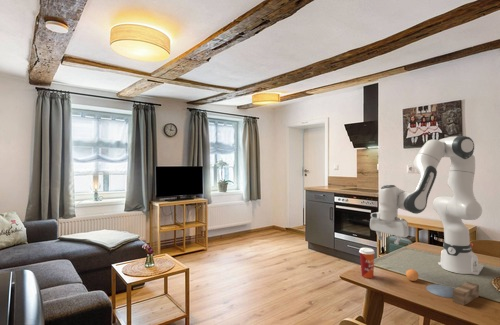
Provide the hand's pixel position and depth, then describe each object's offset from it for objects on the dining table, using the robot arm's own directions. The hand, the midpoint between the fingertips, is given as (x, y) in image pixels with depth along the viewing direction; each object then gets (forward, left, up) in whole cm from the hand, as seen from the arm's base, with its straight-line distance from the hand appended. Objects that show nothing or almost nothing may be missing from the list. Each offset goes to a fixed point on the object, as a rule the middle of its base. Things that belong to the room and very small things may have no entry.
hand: (388, 241), depth 150 cm
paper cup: (+11, -5, -17) cm, 21 cm away
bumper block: (-2, +34, -17) cm, 38 cm away
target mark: (-2, +25, -17) cm, 30 cm away
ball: (-2, +11, -14) cm, 18 cm away
